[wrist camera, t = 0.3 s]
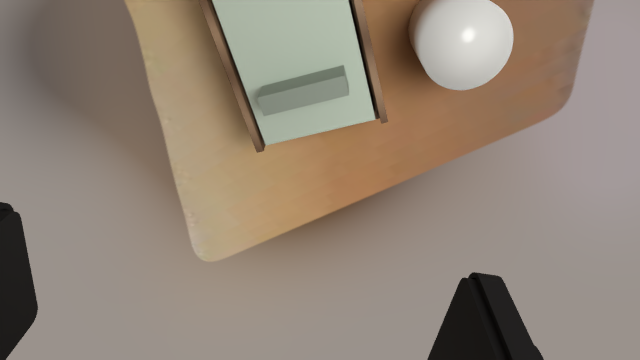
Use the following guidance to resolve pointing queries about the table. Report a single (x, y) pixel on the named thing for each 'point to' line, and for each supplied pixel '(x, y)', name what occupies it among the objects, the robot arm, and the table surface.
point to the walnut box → (238, 86)
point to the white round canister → (460, 41)
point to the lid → (297, 64)
